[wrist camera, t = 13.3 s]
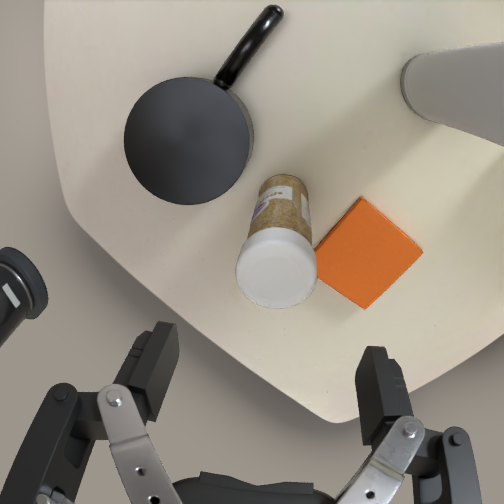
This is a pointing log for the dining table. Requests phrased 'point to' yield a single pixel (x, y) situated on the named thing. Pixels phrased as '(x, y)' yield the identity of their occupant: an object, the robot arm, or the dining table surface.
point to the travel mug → (459, 89)
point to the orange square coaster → (364, 254)
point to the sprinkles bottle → (278, 247)
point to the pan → (196, 128)
